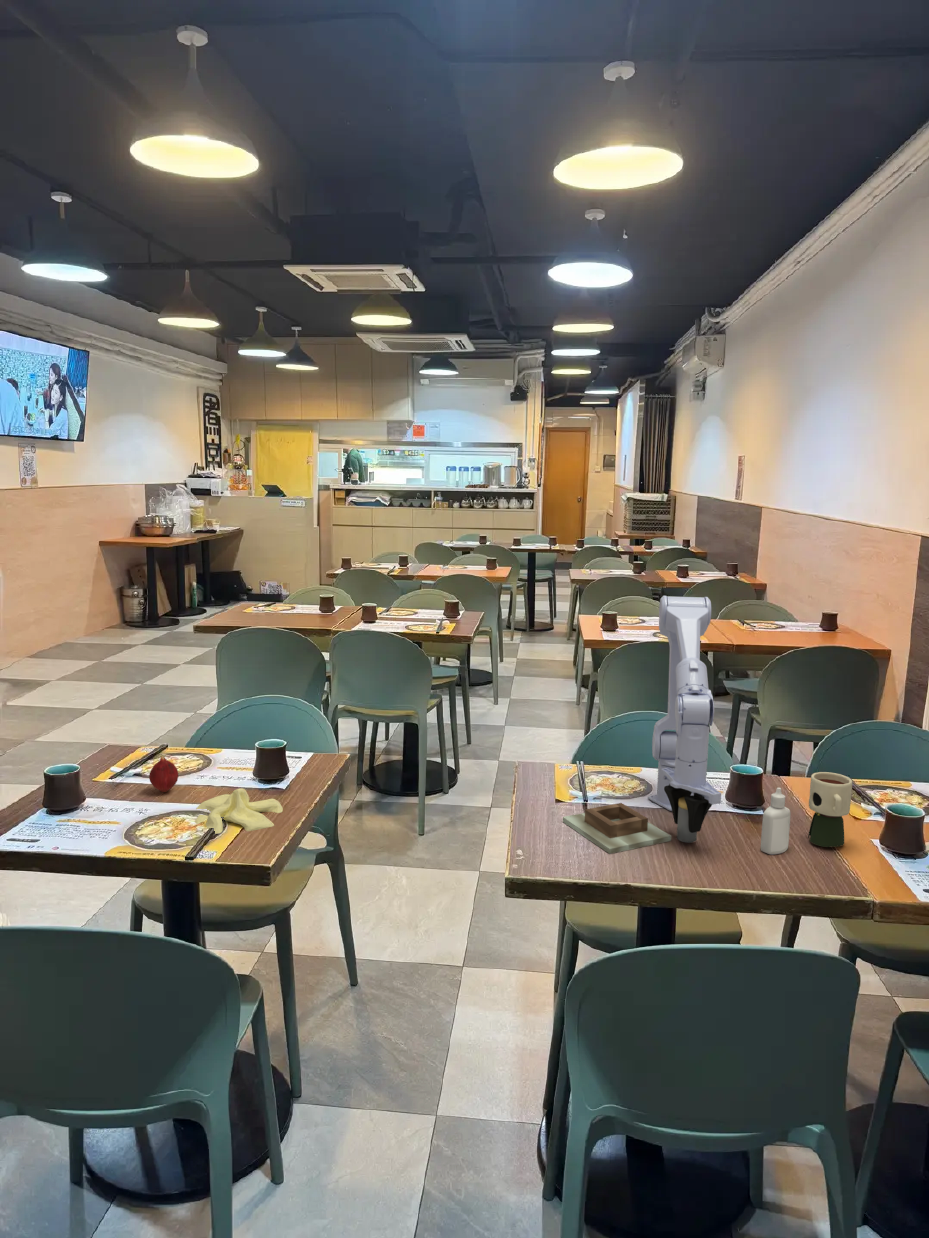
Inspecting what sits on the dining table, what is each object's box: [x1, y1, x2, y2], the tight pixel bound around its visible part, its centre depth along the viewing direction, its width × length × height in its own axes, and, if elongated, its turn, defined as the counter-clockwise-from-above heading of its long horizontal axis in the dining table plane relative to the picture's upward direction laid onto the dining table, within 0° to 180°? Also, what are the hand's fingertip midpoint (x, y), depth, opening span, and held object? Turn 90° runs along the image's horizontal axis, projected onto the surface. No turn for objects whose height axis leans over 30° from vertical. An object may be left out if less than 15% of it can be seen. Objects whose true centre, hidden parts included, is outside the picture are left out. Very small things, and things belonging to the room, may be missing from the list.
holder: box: [562, 802, 672, 855], centre depth 162 cm, size 14×16×4 cm
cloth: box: [194, 787, 284, 835], centre depth 166 cm, size 22×19×6 cm
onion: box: [148, 755, 179, 793], centre depth 179 cm, size 6×6×8 cm
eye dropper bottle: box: [760, 787, 791, 855], centre depth 154 cm, size 4×6×12 cm
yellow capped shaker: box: [676, 797, 698, 844], centre depth 156 cm, size 4×4×8 cm
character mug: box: [807, 771, 853, 848], centre depth 156 cm, size 11×7×13 cm, turn 172°
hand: (687, 827), depth 157 cm, fingers closed on yellow capped shaker, 4 cm apart
